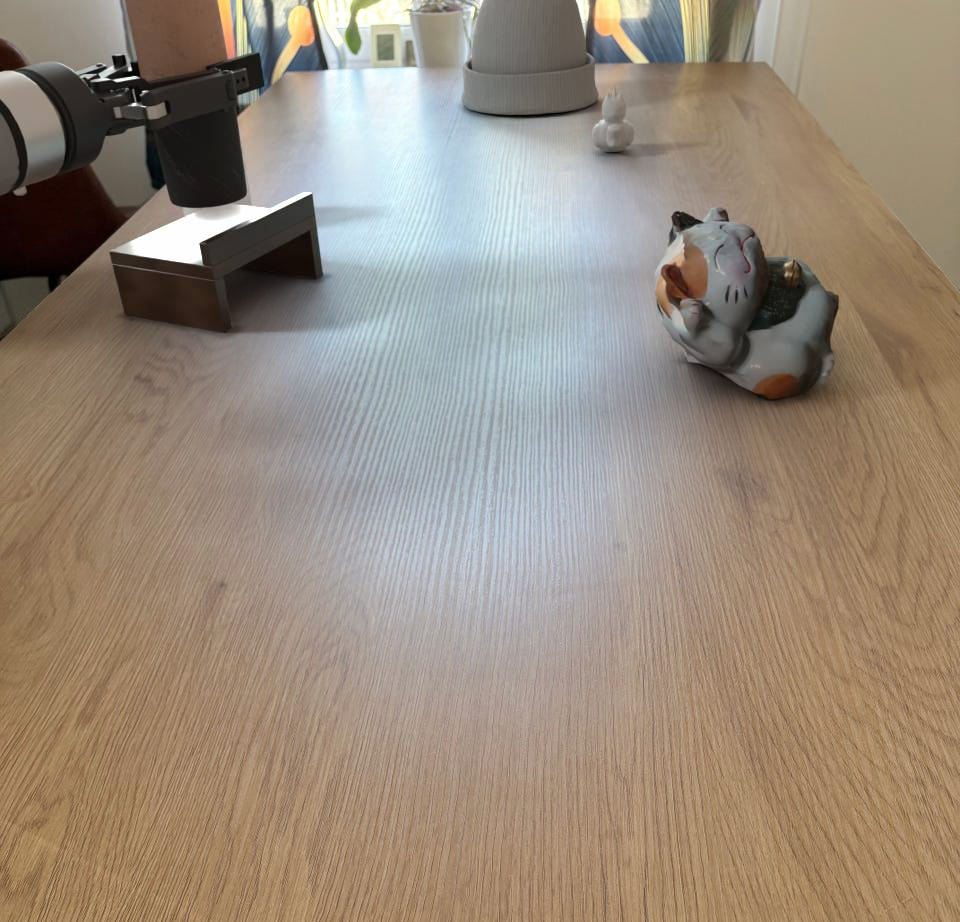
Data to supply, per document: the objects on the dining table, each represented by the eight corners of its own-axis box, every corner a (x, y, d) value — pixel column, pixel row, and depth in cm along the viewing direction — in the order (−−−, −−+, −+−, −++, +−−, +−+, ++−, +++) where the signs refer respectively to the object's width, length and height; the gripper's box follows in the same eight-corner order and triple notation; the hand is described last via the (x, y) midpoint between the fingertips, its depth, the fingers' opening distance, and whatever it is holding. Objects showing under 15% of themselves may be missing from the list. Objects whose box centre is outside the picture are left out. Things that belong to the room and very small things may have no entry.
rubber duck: (631, 145, 144) (634, 79, 139) (635, 158, 138) (638, 90, 134) (590, 146, 144) (592, 80, 139) (592, 159, 139) (594, 91, 134)
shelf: (124, 314, 102) (103, 228, 97) (228, 260, 113) (214, 181, 108) (224, 333, 98) (207, 243, 93) (323, 275, 109) (312, 192, 104)
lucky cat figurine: (825, 413, 80) (758, 259, 72) (680, 440, 88) (604, 304, 80) (858, 289, 88) (801, 137, 80) (722, 324, 96) (657, 188, 87)
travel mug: (176, 214, 96) (120, -52, 84) (160, 193, 101) (105, -58, 89) (259, 200, 98) (217, -60, 86) (239, 181, 104) (197, -66, 91)
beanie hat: (601, 149, 173) (611, 15, 170) (584, 106, 152) (596, -48, 149) (474, 149, 177) (481, 18, 174) (441, 107, 157) (449, -43, 153)
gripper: (-46, 166, 88) (144, 105, 103) (147, 189, 80) (321, 119, 95) (-79, 63, 83) (125, 16, 99) (122, 76, 75) (309, 23, 91)
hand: (221, 67), depth 97 cm, fingers closed on travel mug, 8 cm apart
